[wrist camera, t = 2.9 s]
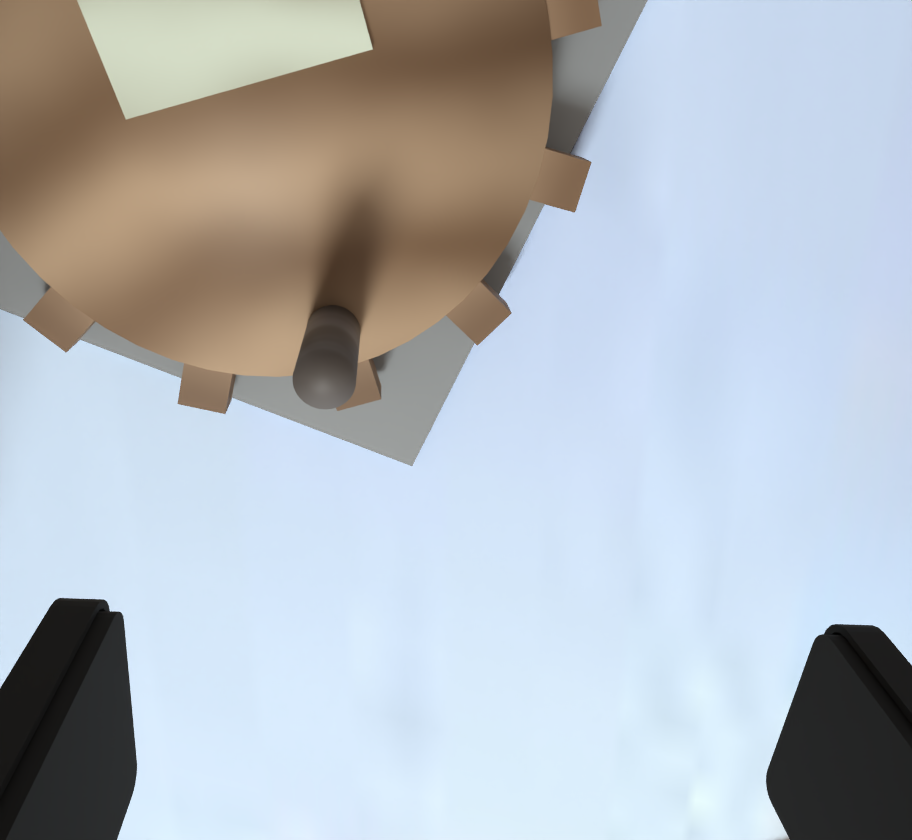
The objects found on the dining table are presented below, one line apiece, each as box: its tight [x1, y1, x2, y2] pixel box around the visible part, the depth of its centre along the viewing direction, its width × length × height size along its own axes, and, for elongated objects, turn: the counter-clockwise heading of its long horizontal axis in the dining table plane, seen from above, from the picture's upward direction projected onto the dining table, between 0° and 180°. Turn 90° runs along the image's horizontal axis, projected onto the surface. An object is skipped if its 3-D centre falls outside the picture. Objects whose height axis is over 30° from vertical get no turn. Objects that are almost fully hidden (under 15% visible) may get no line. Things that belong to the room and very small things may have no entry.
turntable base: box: [0, 0, 647, 466], centre depth 25 cm, size 26×22×6 cm
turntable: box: [0, 0, 602, 414], centre depth 25 cm, size 23×23×7 cm
